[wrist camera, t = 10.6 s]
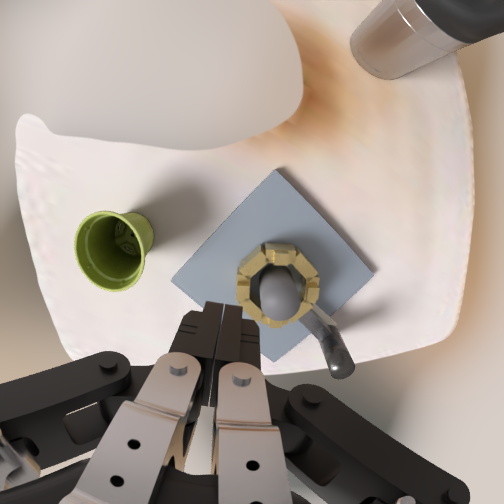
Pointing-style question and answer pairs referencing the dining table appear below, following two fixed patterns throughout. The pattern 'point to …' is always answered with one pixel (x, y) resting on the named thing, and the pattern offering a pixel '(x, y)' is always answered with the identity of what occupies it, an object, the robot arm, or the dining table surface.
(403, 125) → the dining table surface
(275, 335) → the hub board
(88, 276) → the plant pot
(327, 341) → the ring with upright handle
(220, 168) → the dining table surface
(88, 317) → the dining table surface
